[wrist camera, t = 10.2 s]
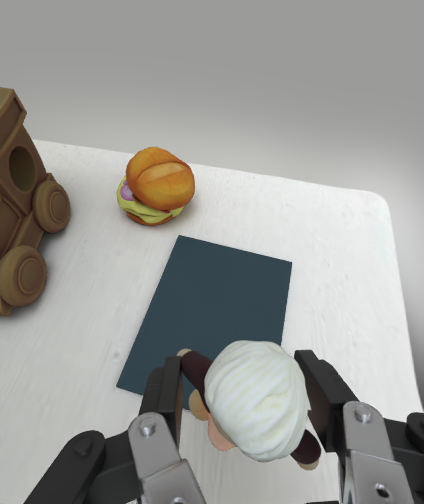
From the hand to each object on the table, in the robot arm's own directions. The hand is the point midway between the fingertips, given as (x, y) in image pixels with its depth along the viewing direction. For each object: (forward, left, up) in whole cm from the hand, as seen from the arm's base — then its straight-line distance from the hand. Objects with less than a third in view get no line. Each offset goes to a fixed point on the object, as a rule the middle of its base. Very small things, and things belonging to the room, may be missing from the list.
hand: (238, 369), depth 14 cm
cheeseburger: (-16, +23, -18) cm, 33 cm away
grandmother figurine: (+1, -2, -6) cm, 7 cm away
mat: (-3, +8, -18) cm, 20 cm away
